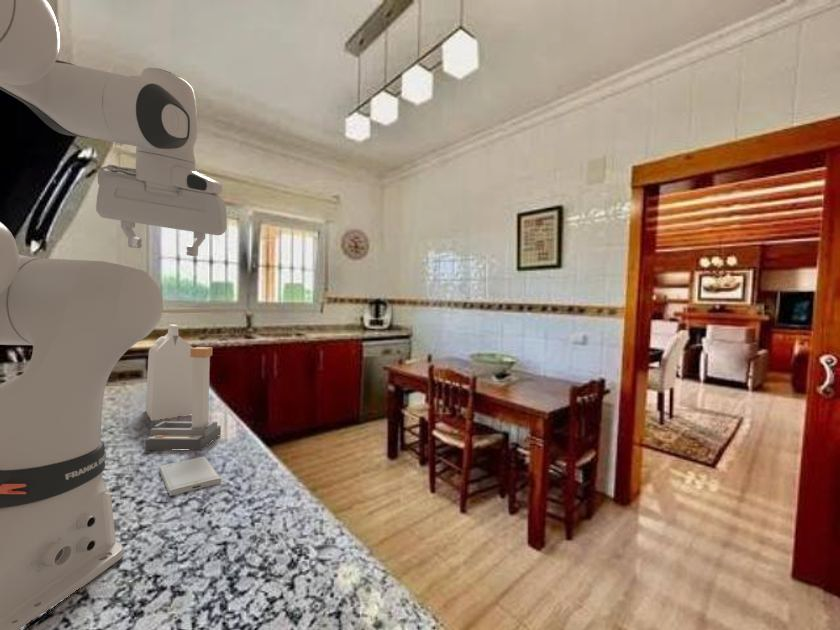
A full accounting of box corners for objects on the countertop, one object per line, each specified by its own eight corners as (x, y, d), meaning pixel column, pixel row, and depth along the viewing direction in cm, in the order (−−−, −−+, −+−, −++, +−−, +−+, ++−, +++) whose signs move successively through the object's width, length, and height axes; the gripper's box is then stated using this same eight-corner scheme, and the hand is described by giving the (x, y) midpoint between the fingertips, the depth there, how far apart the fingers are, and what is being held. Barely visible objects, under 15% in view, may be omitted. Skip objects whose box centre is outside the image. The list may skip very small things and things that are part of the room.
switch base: (200, 450, 87) (201, 431, 87) (145, 450, 86) (145, 430, 86) (220, 435, 97) (220, 417, 96) (170, 434, 96) (170, 417, 96)
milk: (198, 414, 113) (200, 326, 112) (151, 421, 106) (153, 326, 105) (189, 405, 122) (191, 323, 121) (145, 410, 114) (146, 324, 114)
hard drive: (159, 465, 76) (170, 489, 67) (205, 456, 81) (221, 476, 72) (159, 473, 76) (169, 499, 67) (205, 463, 81) (221, 485, 72)
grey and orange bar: (204, 434, 90) (205, 349, 89) (188, 433, 90) (190, 348, 89) (210, 429, 93) (212, 347, 93) (196, 429, 93) (197, 346, 92)
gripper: (87, 159, 63) (88, 243, 66) (223, 185, 68) (218, 261, 72) (107, 164, 69) (108, 241, 72) (231, 187, 74) (226, 257, 77)
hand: (164, 251), depth 72 cm, fingers open, 8 cm apart
